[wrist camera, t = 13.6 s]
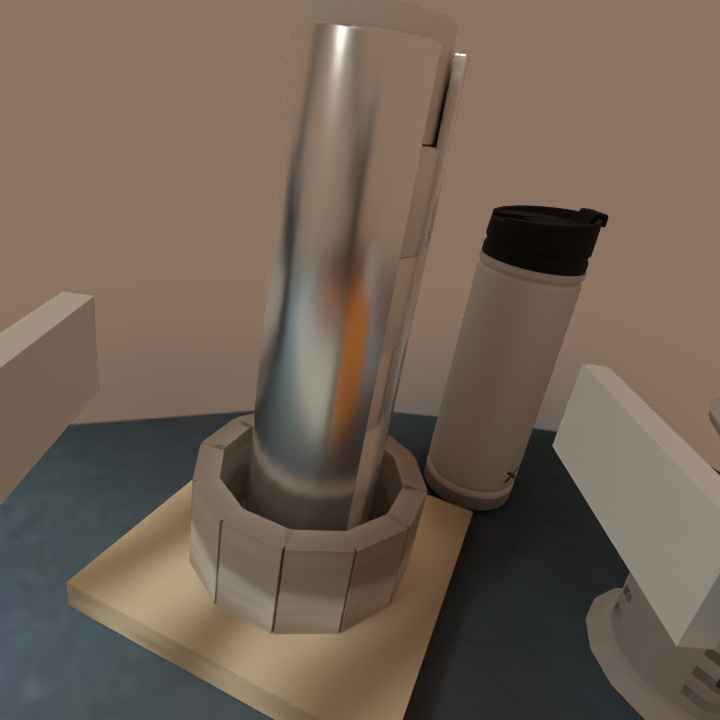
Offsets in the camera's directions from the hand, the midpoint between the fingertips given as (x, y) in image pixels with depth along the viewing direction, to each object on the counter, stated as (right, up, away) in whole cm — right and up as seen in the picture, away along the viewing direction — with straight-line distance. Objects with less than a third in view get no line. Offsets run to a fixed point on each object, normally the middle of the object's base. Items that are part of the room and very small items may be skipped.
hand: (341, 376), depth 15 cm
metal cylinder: (-3, -10, +15) cm, 18 cm away
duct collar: (-3, -11, +15) cm, 19 cm away
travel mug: (+8, -9, +25) cm, 28 cm away
